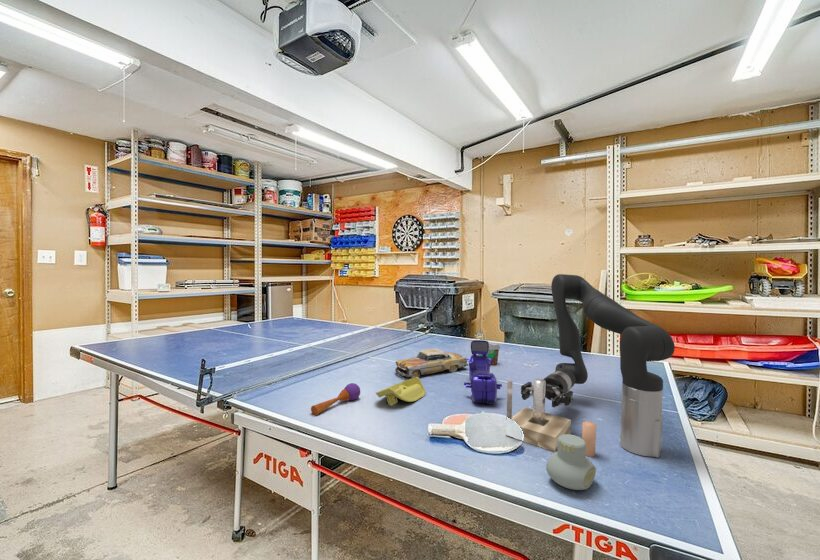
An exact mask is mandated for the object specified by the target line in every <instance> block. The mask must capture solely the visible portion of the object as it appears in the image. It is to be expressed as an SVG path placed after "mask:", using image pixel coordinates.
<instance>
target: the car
mask: <svg viewBox="0 0 820 560" xmlns="http://www.w3.org/2000/svg"><path fill="white" fill-rule="evenodd" d="M465 359H467V357H466V356H465V357H463V355H461V354H459V353H455V352H452V351H451V352H446V351H444V350H441V349H438V348H428V349H427V348H426V349H422V350H420V351H419V352H418V354H417V356H415V357H410V358H404V359H399V360H396V361H395V364H396V367H395V370H394V371H395V373H396V374H398V376H401V377H405V378H410V379H412V378H415V377H418V378H419V379H420V376H424V375H431V374H435V373H439V372H444V371H446V370H448V371H449V372H450V373H454V372H457V370H458V369H460V368H463V367H467V366H468V367H469V363H468V360H465Z"/></svg>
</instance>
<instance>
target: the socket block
mask: <svg viewBox="0 0 820 560" xmlns="http://www.w3.org/2000/svg"><path fill="white" fill-rule="evenodd" d="M506 384H507V385H506V388H507V389H506V418H507V417H508V418H510V419H513V420H514V421H515V422H516V423H517V424H518V425H519V426H520V428H521V429H522V431H523V434H524V442H523V443H526V444H529V445H531V446H535V447H538V446H539V447H538V448H541V447H542V448H541V449H545V450H547V451H551V452H553V453H555V452H557V450H558V437H559V436H561V435H564V434H570V435H571V433H572V432H571V429H572V428H571V427H572V426H571V425H572V420H571V419H570V418H568V417H567V418H566V417H562V416H559V415H555V414H551V413H548V412H545V420H544V426H541V425H538V424H535V423H533V408H530V407H529V408H528V407H525V406H524V407H523V408H522V409H521V410H519V411H518V412H517V413H516V414H514V415H513V416H512V413H513V381H512V380H507V383H506Z"/></svg>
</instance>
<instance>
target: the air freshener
mask: <svg viewBox="0 0 820 560" xmlns="http://www.w3.org/2000/svg"><path fill="white" fill-rule="evenodd" d="M545 470H546V472H547V475H548V476H549V478H551V480H552V481H553V482H554V483H556V484H557V485H559V486H561V487H563V488H566V489H570V490H574V491H583V490H588V488H590V487H591V485H592V483H594V479H595V477H596V473H597V469H596V466H595V465H594V463H593V462H592V461H591V459H589V458H588V457H587V456H586V443H585V441H584V440H583V439H582V437H580V436H577V435H574V434H571V433H570V434H564V435H561V436H559V437H558V449H557V450H556V451H555V452H553V453H552V454H551V455H550V456H549V458H548V460H547V462H546V466H545Z"/></svg>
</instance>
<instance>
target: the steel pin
mask: <svg viewBox="0 0 820 560" xmlns="http://www.w3.org/2000/svg"><path fill="white" fill-rule="evenodd" d="M543 379H544V378H534V379H533V385H534V396H532V398H533V399H532V400H533V401H532V402H533V403H532V404H533V405H532V409H533V423H535V424H538V425H541V426H544V420H545V413H546V412H545V411H546V410H545V409H546V398H545V386H546V381H545V380H543Z"/></svg>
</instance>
